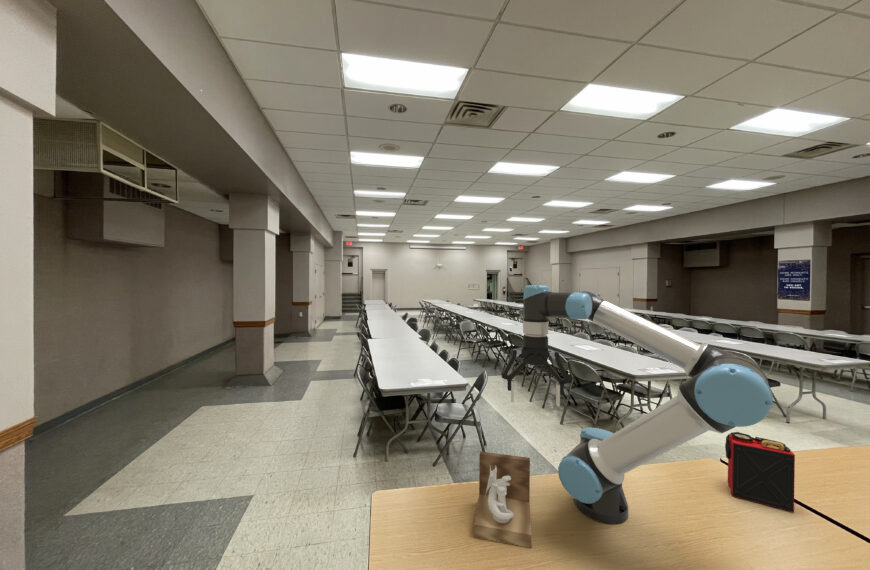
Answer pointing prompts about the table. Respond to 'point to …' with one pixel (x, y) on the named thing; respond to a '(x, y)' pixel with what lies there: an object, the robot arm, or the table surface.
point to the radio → (760, 470)
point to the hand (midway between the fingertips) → (534, 403)
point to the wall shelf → (515, 499)
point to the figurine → (498, 488)
